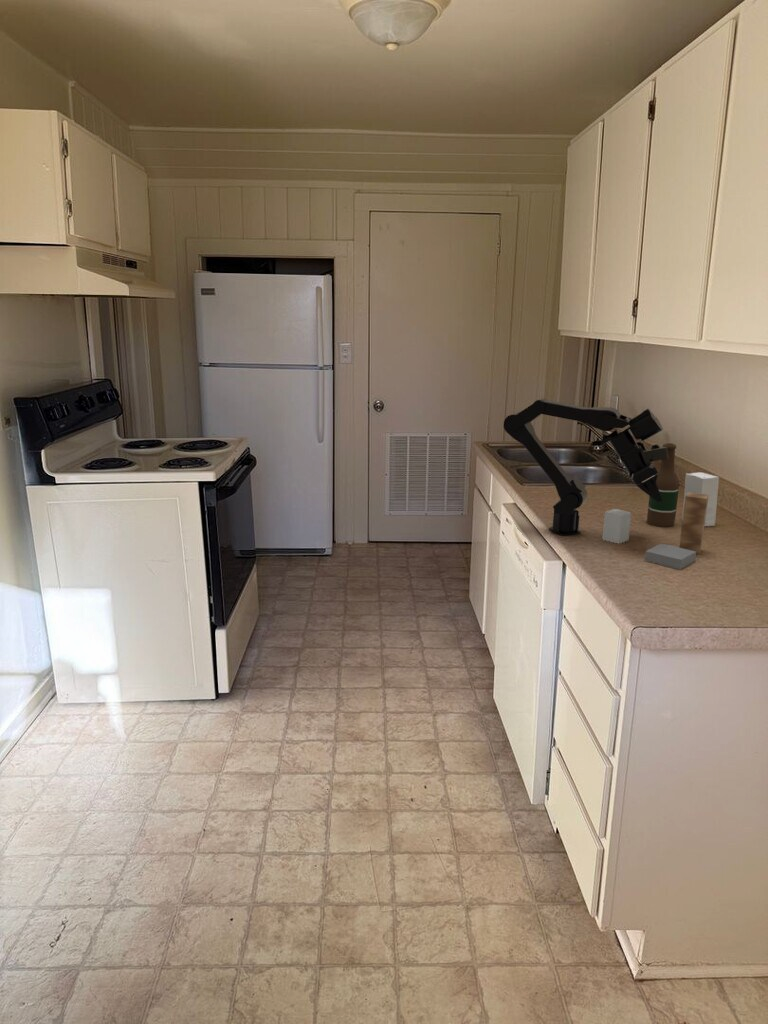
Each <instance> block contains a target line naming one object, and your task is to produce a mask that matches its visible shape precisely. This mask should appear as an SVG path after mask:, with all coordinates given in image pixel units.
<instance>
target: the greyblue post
mask: <svg viewBox="0 0 768 1024" xmlns="http://www.w3.org/2000/svg"><path fill="white" fill-rule="evenodd" d="M603 517H604V520H603V529H602V538H601V540H602V539H603V540H602V541H605V540H606V541H605V542H609V541H610V543H613V542H614V543H613V544H616V543H618V544H617V545H620V544H622V542H623V543H625V541H626V542H628V541H629V539H630V530H631V518H632V512H631V511H626V510H621V509H618V508H613V509H610V510H606V511H604V516H603ZM619 543H620V544H619Z"/></svg>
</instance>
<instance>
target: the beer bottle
mask: <svg viewBox="0 0 768 1024" xmlns="http://www.w3.org/2000/svg"><path fill="white" fill-rule="evenodd" d="M661 447H667V452H668V457H669V459H667V460H660V465H659V468H658V470H657V472H658V477H657V480H656V484H657V487H658V490H659V492H660V495H661V498H662V501H661V502H657V501H656V500H655V499H653V498H652V497H651V496H649V495H648V496H649V497H648V506H647V513H646V515H647V516H646V522H647V523H648V524H649V525H650V526H654V527H658V528H665V527H666V528H670V527H673V526H674V524H675V522H676V514H677V507H678V497H679V491H680V482H679V478H678V475H677V474H676V472H675V456H676V455H675V453H676V452H675V451H676V449H677V445H676V444H674V443H669V442H668V443H663V445H662V446H661Z"/></svg>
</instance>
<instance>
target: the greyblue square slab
mask: <svg viewBox="0 0 768 1024" xmlns="http://www.w3.org/2000/svg"><path fill="white" fill-rule="evenodd" d="M696 557H697V554H696V551H692V550H687V549H683V548H679V546H674V545H671V544H670V545H669V544H664V543H660V544H658V545H655V546H653V547H651V548H649V549H647V550H645V555H644V561H645V560H646V561H645V562H647V561H649V562H648V563H651V562H654V563H653V564H655V563H657V564H656V565H659V564H660V565H659V566H664V567H667V566H668V567H667V568H671V569H676V570H682V569H685V567H688V566H689V565H691V564H693V563H695V562H696Z"/></svg>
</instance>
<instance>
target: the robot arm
mask: <svg viewBox="0 0 768 1024" xmlns="http://www.w3.org/2000/svg"><path fill="white" fill-rule="evenodd" d="M541 415H545V416H548V417H549V416H550V417H555V418H561V419H564V420H571V421H576V422H581V423H584V424H586V425H588V426H590V427H592V428H595V429H597V430H599V431H603V432H604V433H603V434H602V439H601V442H600V444H601V445H606V443H608V442H609V444H610V445H611V448H613V450H614V452H615V453H616V456H618V459H619V460H620V462H621V463H622V465H623V466H624V468H625V470H626V471H627V475H628V477H629V479H630V480H631V481H632V483H634V485H635V486H636V487H637V488H639V489H640V490H641V491H642V492H644V493H645V494H647V495H648V496H651V497H652V498H653V499H655V500H656V501H657V502H661V501H662V498H661V495H660V492H659V490H658V487H657V484H656V480H657V477H658V470H657V468H656V467H655V466H654V465H651V464H652V462H657V461H661V460H667V459H669V457H668V452H667V447H662V446H661V447H660V445H658V444H652V445H651V446H650V449H647V450H644V449H643V448H642V447H640V446H639V445H638V443H637V441H636V440H641V441H643V442H644V441H646V440H647V439H650V438H651V437H654V435H657V434H658V433H660V432H662V431H663V430H664V429H663V426H662V424H661V422H660V420H659V419H658V417H656V416H655V414H654V413H653V412H652V411H651V409H650V408H645V409H644V410H643V411H642V412H640V413H639V414H637V415H635V416H634V417H629V416H626V415H623V414H621V413H620V411H619V410H618V409H617V408H615V407H609V406H608V407H605V406H603V407H602V406H600V407H587V406H580V405H576V404H575V405H574V404H570V403H565V402H564V403H563V402H558V401H554V400H548V399H546V398H539V399H537V400H534V402H533V403H532V404H531V405H529V406H528V407H526V408H524V409H523V410H521V411H517V412H513V413H511V414H509V415H508V416H506V417H505V419H504V421H503V429H504V431H505V432H506V433H507V434H508V435H509V436H510V438H512V439H514V440H515V441H516V442H518V443H519V444H521V445H523V447H524V448H525V449H526V450H527V452H528V453H529V454H530V455H531V456H532V458H533V459H534V460H535V461H536V463H537V464H538V465H539V467H540V468H541V470H543V473H545V474H546V475H547V476H548V478H549V479H550V481H551V482H552V483H553V484H554V486H555V489H556V492H557V495H558V497H559V500H558V501H557V502H556V503H555V504H554V505H553V506H552V508H553V516H552V517H553V518H552V527H549V531H551V530H552V532H554V533H555V532H556V534H557V533H558V535H559V534H560V536H567V535H577V534H581V530H579V528H580V527H579V526H580V515H579V513H580V512H579V510H577V509H579V508H580V507H581V506H582V505H583V504H584V502H586V499H587V497H588V492H587V490H586V488H587V485H585V484H584V483H582V481H581V480H580V477H579V475H575V476H574V478H573V477H572V476H570V475H568V473H567V472H566V471H565V470H564V469H563V467H562V466H561V465H560V464H559V463H558V461H557V460H556V458H554V456H553V454H551V452H550V451H549V450H548V449H547V447H546V446H545V445H544V443H542V441H541V440H540V439H539V437H538V435H536V431H535V429H534V426H533V424H532V422H533V421H535V419H537V418H538V417H540V416H541ZM627 426H628V427H627ZM625 427H626V428H625ZM614 429H615V430H614ZM620 429H623V430H620ZM612 430H613V431H612ZM609 431H612V432H610V433H607V432H609ZM605 432H606V433H605Z"/></svg>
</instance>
